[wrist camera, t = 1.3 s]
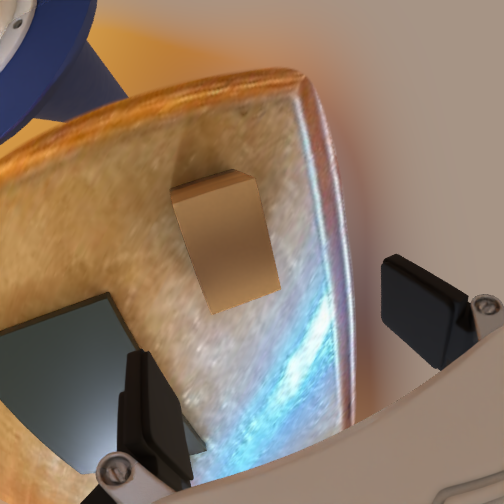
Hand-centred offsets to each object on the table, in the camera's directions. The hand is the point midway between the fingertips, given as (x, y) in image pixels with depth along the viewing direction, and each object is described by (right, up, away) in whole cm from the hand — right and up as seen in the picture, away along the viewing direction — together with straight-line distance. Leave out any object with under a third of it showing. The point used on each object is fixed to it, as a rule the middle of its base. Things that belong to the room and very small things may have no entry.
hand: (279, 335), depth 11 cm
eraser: (-4, +5, +10) cm, 12 cm away
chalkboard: (-17, -12, +13) cm, 25 cm away
